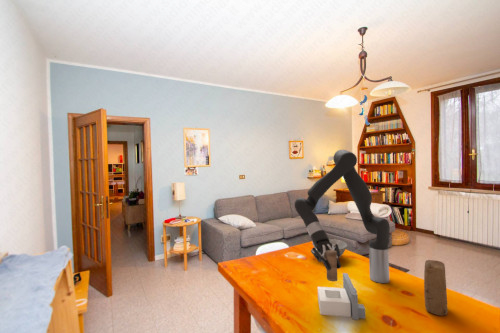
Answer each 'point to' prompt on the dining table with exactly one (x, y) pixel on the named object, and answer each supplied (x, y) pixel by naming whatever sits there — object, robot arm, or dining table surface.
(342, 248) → the ceramic bowl
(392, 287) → the dining table surface
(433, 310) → the block
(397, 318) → the dining table surface
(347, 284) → the backstop
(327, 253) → the dowel
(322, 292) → the socket
